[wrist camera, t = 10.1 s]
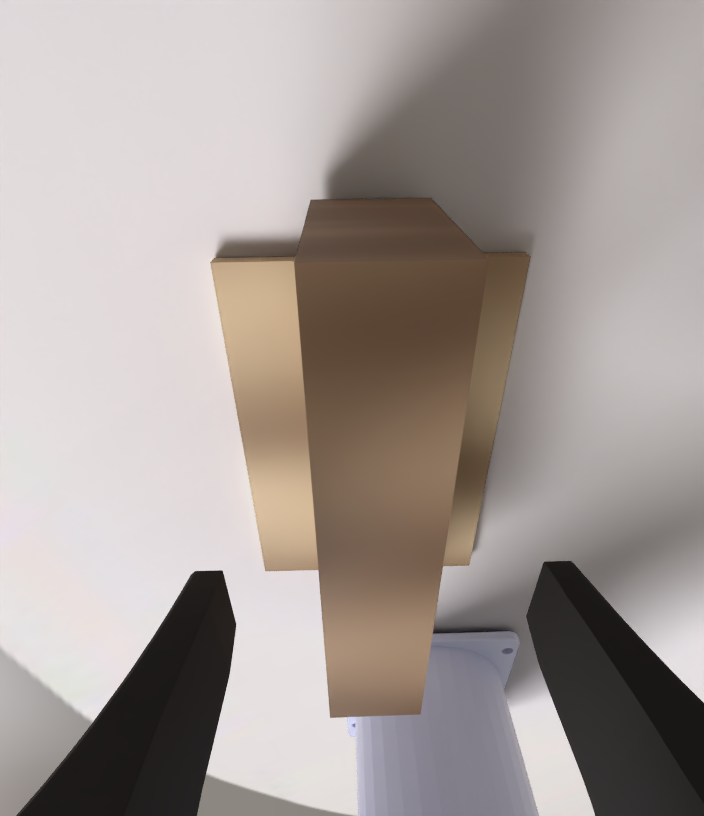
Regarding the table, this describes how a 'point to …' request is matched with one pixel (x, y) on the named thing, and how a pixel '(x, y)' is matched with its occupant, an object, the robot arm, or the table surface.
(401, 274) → the brown wooden block
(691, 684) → the table surface
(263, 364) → the mat
